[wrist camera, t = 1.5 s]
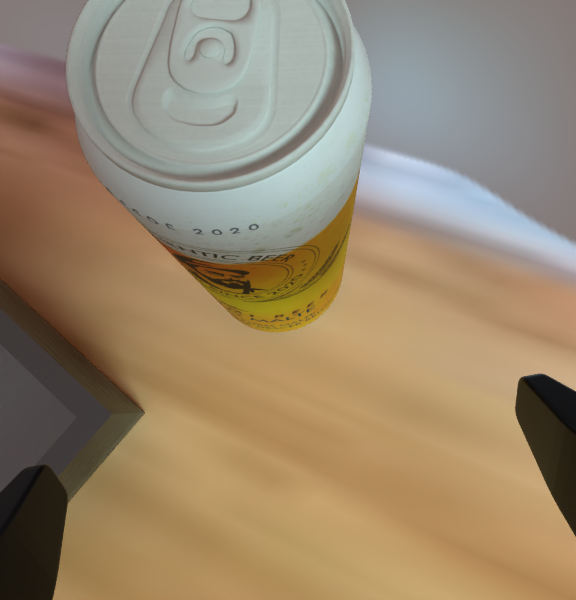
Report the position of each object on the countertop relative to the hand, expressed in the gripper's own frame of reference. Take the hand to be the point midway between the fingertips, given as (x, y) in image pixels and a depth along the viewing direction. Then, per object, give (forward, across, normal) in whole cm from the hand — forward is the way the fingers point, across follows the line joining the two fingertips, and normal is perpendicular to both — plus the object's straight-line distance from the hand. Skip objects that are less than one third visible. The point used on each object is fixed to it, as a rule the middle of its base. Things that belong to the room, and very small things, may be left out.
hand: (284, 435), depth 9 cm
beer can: (+14, 0, +4) cm, 15 cm away
